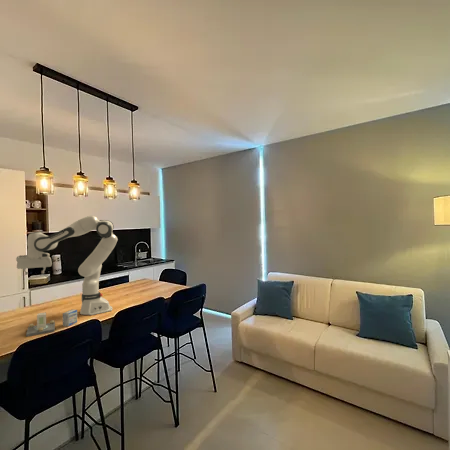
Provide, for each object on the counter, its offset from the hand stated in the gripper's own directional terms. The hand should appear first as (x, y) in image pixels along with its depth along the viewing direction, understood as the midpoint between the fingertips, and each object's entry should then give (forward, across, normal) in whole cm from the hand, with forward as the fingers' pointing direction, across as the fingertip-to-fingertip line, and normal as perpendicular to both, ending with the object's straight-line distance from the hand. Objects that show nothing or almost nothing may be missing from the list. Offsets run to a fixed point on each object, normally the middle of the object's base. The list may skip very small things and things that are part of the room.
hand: (34, 274), depth 184 cm
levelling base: (+31, +6, -31) cm, 44 cm away
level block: (+29, +6, -31) cm, 43 cm away
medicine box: (+31, +21, -29) cm, 48 cm away
